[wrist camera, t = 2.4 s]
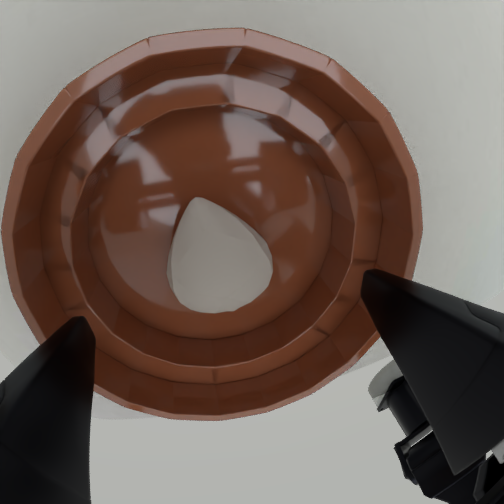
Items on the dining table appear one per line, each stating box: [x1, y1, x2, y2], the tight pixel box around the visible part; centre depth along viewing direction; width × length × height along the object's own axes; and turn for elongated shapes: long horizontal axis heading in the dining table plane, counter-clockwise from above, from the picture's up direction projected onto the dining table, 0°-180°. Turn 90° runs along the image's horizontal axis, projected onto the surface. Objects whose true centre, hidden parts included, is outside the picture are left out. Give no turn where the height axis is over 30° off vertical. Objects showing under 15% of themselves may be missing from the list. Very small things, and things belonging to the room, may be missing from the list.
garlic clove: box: [167, 197, 273, 313], centre depth 11 cm, size 4×5×2 cm
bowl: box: [1, 28, 423, 421], centre depth 10 cm, size 15×15×4 cm
